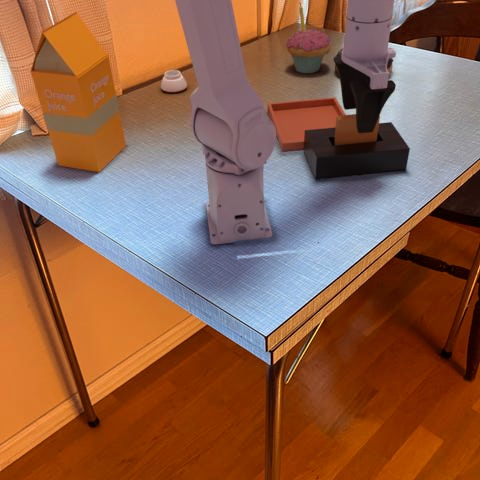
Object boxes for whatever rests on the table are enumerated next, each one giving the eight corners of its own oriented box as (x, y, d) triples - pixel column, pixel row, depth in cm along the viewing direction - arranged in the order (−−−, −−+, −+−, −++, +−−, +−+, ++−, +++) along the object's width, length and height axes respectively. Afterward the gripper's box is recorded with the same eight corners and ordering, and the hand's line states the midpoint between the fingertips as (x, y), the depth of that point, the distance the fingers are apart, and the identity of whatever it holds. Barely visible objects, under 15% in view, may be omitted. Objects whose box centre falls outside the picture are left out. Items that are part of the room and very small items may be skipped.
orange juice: (127, 145, 93) (101, 12, 79) (100, 172, 87) (66, 33, 73) (85, 140, 95) (53, 9, 81) (56, 165, 89) (16, 29, 75)
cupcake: (282, 75, 111) (282, 8, 103) (291, 59, 117) (293, -5, 109) (325, 78, 109) (329, 10, 101) (332, 62, 115) (337, -4, 107)
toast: (374, 161, 85) (380, 116, 80) (334, 164, 84) (338, 120, 80) (371, 156, 86) (377, 111, 81) (332, 160, 85) (336, 115, 81)
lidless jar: (157, 93, 108) (182, 94, 106) (155, 77, 105) (180, 78, 104) (166, 82, 111) (190, 84, 110) (164, 67, 109) (189, 68, 108)
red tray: (357, 146, 89) (358, 136, 88) (282, 154, 89) (282, 143, 87) (334, 107, 100) (335, 97, 99) (267, 113, 99) (267, 103, 98)
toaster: (405, 173, 83) (410, 148, 80) (315, 182, 82) (316, 157, 79) (387, 146, 89) (391, 121, 86) (303, 154, 88) (304, 130, 85)
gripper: (419, 32, 66) (401, 140, 76) (382, -3, 77) (370, 96, 86) (360, 37, 66) (349, 145, 75) (331, 1, 76) (325, 100, 86)
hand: (357, 119), depth 81 cm, fingers open, 7 cm apart
